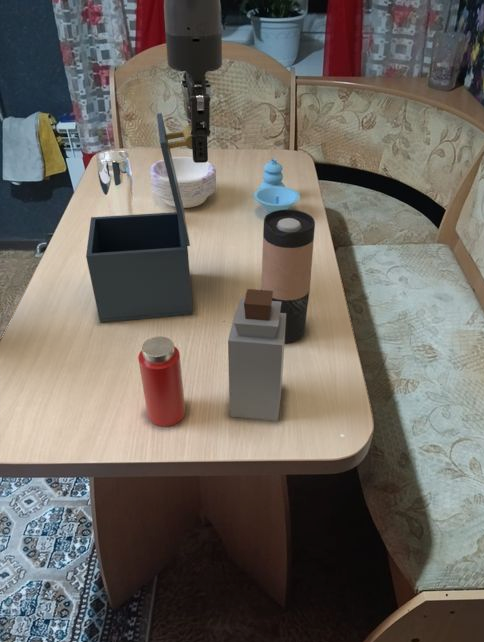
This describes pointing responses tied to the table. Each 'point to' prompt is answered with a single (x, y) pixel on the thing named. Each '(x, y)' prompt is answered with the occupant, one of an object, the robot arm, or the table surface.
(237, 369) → the perfume bottle
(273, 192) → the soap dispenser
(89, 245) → the chest
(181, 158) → the paper bowls
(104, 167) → the beer glass
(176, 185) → the lid
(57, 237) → the table surface
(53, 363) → the table surface
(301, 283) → the travel mug
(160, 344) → the red bottle
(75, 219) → the table surface
